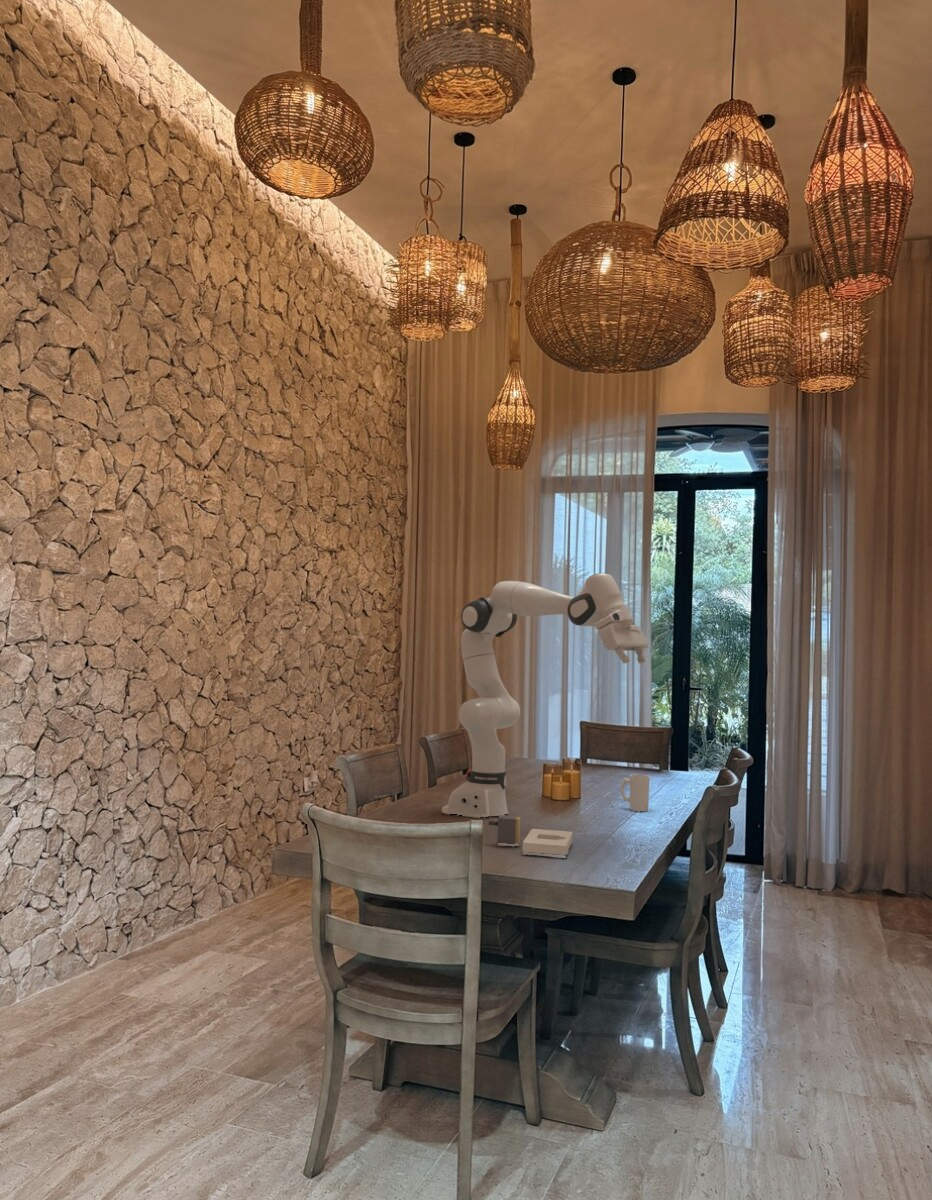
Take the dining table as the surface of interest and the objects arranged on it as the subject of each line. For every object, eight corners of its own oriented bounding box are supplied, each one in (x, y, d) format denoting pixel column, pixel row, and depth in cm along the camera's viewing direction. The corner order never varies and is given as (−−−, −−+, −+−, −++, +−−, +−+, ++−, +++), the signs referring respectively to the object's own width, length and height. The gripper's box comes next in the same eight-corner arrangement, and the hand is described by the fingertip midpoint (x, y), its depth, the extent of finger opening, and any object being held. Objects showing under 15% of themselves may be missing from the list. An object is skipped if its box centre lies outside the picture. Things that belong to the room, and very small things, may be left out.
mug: (650, 809, 319) (651, 775, 320) (647, 813, 313) (647, 778, 314) (621, 806, 323) (622, 773, 323) (618, 810, 317) (618, 775, 317)
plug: (487, 845, 260) (487, 817, 260) (489, 842, 264) (490, 814, 264) (518, 847, 258) (518, 819, 259) (520, 844, 262) (520, 816, 262)
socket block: (522, 855, 250) (522, 842, 250) (531, 840, 268) (532, 828, 268) (565, 858, 247) (566, 846, 247) (572, 843, 265) (572, 831, 265)
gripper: (626, 626, 283) (643, 667, 279) (591, 624, 268) (608, 667, 263) (642, 617, 280) (660, 658, 275) (607, 615, 264) (625, 657, 260)
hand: (634, 662), depth 269 cm, fingers open, 8 cm apart
